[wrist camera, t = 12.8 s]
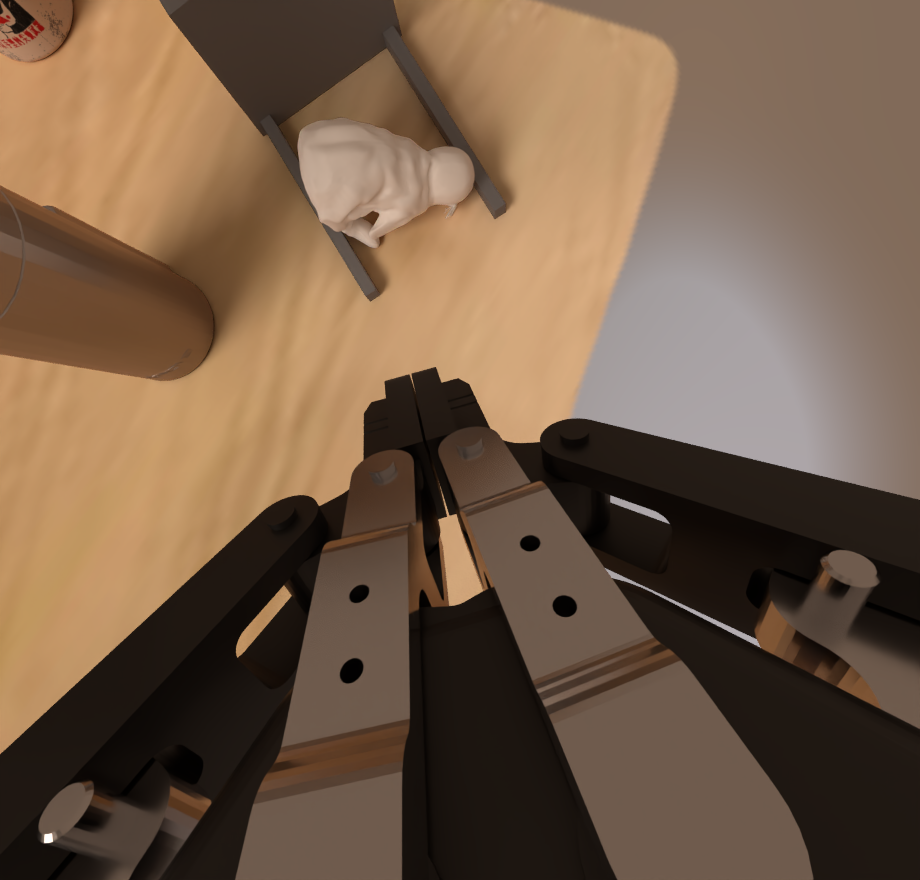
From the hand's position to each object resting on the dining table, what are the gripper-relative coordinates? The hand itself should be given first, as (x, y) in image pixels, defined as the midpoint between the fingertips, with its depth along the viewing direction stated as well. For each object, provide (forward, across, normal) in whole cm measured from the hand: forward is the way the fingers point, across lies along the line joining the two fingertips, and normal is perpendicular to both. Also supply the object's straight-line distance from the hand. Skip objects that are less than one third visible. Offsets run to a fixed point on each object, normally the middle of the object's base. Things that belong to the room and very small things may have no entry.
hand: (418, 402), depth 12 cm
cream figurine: (+28, -3, -2) cm, 29 cm away
